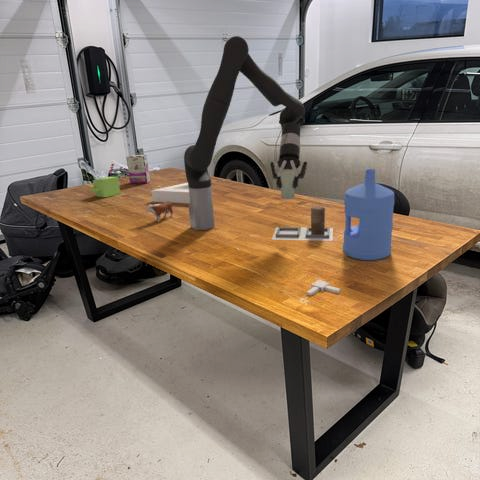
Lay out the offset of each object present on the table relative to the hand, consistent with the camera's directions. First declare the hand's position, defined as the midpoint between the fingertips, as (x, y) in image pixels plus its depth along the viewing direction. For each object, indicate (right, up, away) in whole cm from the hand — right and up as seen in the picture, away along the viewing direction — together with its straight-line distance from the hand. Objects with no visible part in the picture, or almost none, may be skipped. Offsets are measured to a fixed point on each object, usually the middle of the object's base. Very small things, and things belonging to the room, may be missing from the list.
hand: (287, 187), depth 164 cm
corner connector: (+6, -34, -35) cm, 50 cm away
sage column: (+1, -3, +3) cm, 5 cm away
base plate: (+7, -18, +7) cm, 20 cm away
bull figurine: (-52, -10, +37) cm, 64 cm away
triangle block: (-43, +3, +72) cm, 84 cm away
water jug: (+26, -23, -11) cm, 36 cm away
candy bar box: (-77, +15, +109) cm, 134 cm away
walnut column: (+12, -17, +6) cm, 21 cm away
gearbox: (-89, +6, +85) cm, 124 cm away
